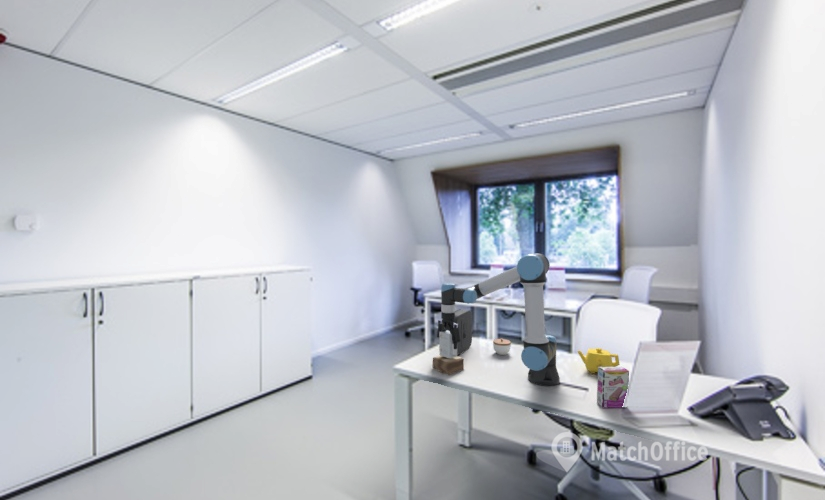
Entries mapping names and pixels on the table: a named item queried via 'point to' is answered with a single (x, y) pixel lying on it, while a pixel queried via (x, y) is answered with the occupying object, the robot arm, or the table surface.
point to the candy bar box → (612, 386)
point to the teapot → (598, 359)
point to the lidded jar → (501, 346)
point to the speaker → (464, 329)
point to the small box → (446, 344)
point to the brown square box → (448, 364)
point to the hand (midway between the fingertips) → (448, 352)
